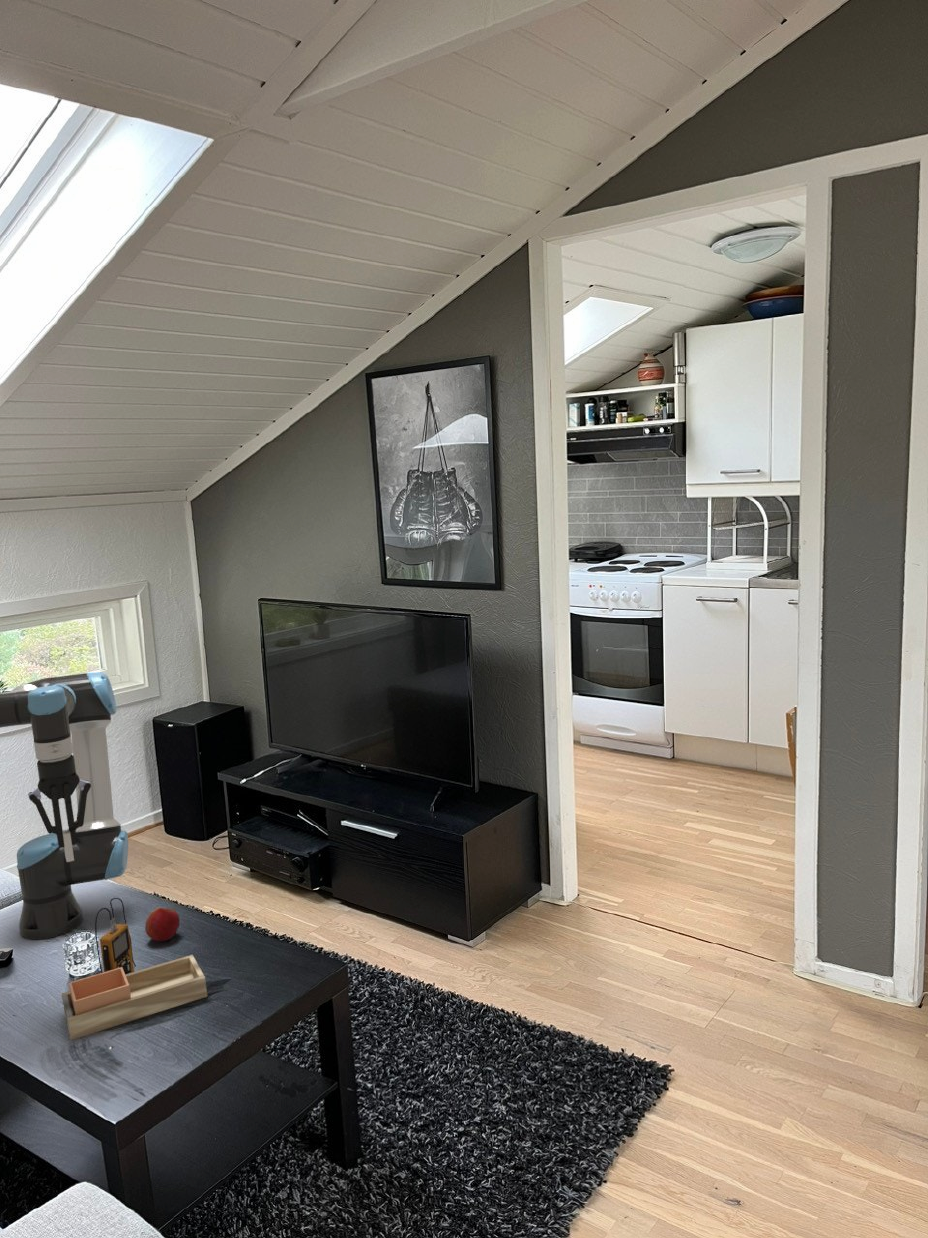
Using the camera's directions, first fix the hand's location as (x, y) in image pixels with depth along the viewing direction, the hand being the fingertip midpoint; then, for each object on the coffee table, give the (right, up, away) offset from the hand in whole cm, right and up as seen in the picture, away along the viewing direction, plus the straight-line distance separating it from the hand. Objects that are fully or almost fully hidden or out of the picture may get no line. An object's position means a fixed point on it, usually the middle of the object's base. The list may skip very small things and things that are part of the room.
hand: (69, 859), depth 212 cm
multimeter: (+13, -30, +4) cm, 33 cm away
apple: (+13, -26, +25) cm, 38 cm away
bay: (+16, -30, -4) cm, 35 cm away
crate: (+10, -30, -8) cm, 33 cm away
